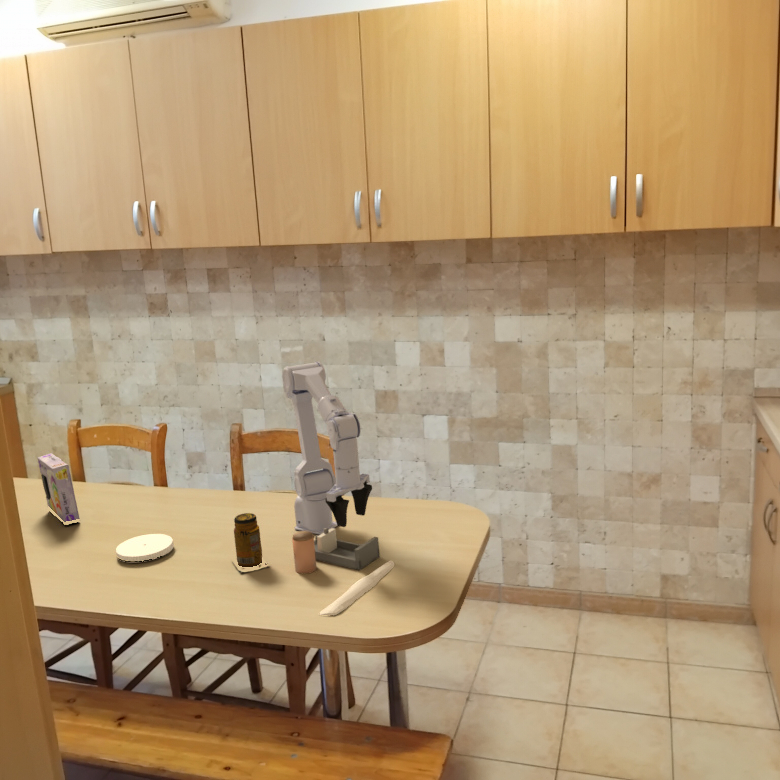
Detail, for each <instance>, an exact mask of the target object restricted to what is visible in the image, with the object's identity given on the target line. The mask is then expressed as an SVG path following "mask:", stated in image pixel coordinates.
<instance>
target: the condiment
mask: <svg viewBox="0 0 780 780" xmlns="http://www.w3.org/2000/svg"><path fill="white" fill-rule="evenodd" d="M233 522H234V528H233V535H234V545H235V552H236V553H235V554H236V560H237V562H238V565H239V566H242V567H253V566H257V565H259V564H260V563H262V557H263V548H262V542H261V532H260V526H259V525H258V520H257V516H256V514H254V513H253V512H252V513H251V512H245V513H240V514H237V515H236V516H235V517H234V519H233ZM267 564H269V563H268V562H267ZM267 564H266V563H265V565H267Z"/></svg>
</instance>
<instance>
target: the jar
mask: <svg viewBox="0 0 780 780" xmlns="http://www.w3.org/2000/svg"><path fill="white" fill-rule="evenodd" d="M291 539H292V540H291V542H292V551H293V559H294V560H293V561H294V569H295V572H296V573H297V572H298V573H297V574H300V573H303V574H304V573H307V574H311V573H314V572H315V571H317V560H316V555H315V545H314V540H315V536H314V533H312V532H310V531H301V530H299V531H296V532H294V533H293V534H292V538H291ZM313 571H314V572H313ZM310 572H311V573H310ZM303 574H302V575H303ZM304 575H305V574H304Z"/></svg>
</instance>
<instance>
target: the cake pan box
mask: <svg viewBox="0 0 780 780" xmlns="http://www.w3.org/2000/svg"><path fill="white" fill-rule="evenodd" d="M37 461H38V462H37V463H38V467H39V472H40V475H41V481H42V485H43V489H44V493H45V501H46V505H47V507H48V506H49V507H50V508H51V509H52V510H53V511H54V512H55V513H56V514H57V515H58V516H59V517H60V518H61V519H62V520H63V521H64V522H66V521H72V520H76V519H80V514H79V509H78V503H77V500H76V499H77V498H76V495H75V489H74V483H73V481H72V476H71V470H70V465H69V464H68V463H66V462H64V461H63V460H62V459H61V458H60V457H59V456H56V455H55V454H53V452H51V453H47V454H44V455H42V456H37ZM80 520H81V519H80Z"/></svg>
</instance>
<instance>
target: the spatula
mask: <svg viewBox="0 0 780 780" xmlns="http://www.w3.org/2000/svg"><path fill="white" fill-rule="evenodd" d="M394 567H395V563H394V561H393V560H389V561H387V562H385V563H383V564H382V565H380V566H379V567H378V568H376V569H375V570H373V571H372V572H371V573H370V574H368V575H365V576H363V577H361V578H360V579H359V580H357V581H356V582H355V583H353V584H352V585H351V586H350V587H349V588H348V589H347V591H345V592H344V593H343V594H342V595H340V596H339V597H338V598H337V599H336V600H334V601H333V602H332V603H330V604H328V605H327V606H326V607H325V608H323V609H322V610H320V612H319V613H320V615H329V616H328V617H331V616H330V615H333V616H336V615H338V614H340V613H342V612H343V611H344V610H346V609H348V608H349V607H350V606H349V605H351V604H352V603H353V602H354V601H355V600H356V599H358V598H359V597H360V596H361V597H362V596H364V595H365V594H366V593H367V592H369V591H370V590H371V589H373V588H374V587H376V585H377V584H378V583H379V581H380V580H381V579H383V578H384V577H385V576H386V575H387V574H388V573H389V572H391V571H392V569H393V568H394ZM372 587H373V588H372ZM368 590H369V591H368ZM365 592H366V593H365ZM364 593H365V594H364ZM361 597H360V598H361ZM360 598H359V599H360ZM359 599H358V600H359ZM356 601H357V600H356ZM356 601H355V602H356ZM355 602H354V603H355ZM354 603H353V604H354ZM353 604H352V605H353ZM352 605H351V606H352ZM348 606H349V607H348ZM347 607H348V608H347ZM320 615H319V616H320Z"/></svg>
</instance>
